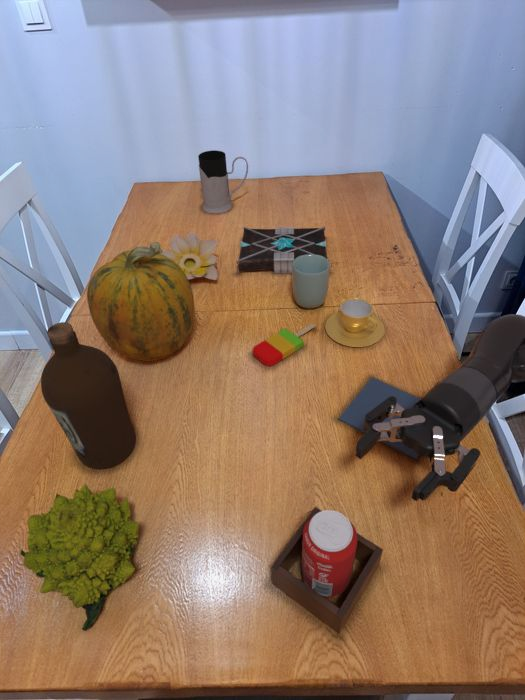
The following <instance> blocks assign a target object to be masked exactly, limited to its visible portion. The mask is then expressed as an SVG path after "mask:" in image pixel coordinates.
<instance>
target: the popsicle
mask: <svg viewBox="0 0 525 700" xmlns="http://www.w3.org/2000/svg"><path fill="white" fill-rule="evenodd" d="M316 327H317V325H316V324H315V323H311V324H309V325H308V326H306V327H304V328H303V329H300V330H299V331H298V332H295V333H294V332H292V331H290V330H289V329H288V328H283V329H281V330H279V331H278V332H276V333H274V334H273V335H271V336H269V337H267V338H266V339H264V340H262V341H261V342H259V343H258V344H255V345H254V346H253V348H252V355H253V357H254V358H255V359H256V360H258V361H260V363H262V364H263V365H265V366H266V367H272V366H275V365H277V364H278V363H279V362H281V361H283V360H284V359H285V358H287V357H289V356H291V355H292V354H293V353H295V352H297V351H298V350H300V349H302V348H303V347H304V339H302V338H301V337H302V336H303V335H305V334H307V333H308V332H309V331H311V330H313V329H314V328H316Z"/></svg>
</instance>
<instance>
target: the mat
mask: <svg viewBox="0 0 525 700" xmlns="http://www.w3.org/2000/svg"><path fill="white" fill-rule="evenodd" d="M390 396H394V397H396V399H397V402H396V403H397V404H398V405H400V406H401V407H403V408H404V409H407V408H411V407H413V406H414V405H415V404H416V403H417V402H418V401H419V400H420V399H421V398H419V397H418V396H415V395H413V394H411V393H408V392H406V391H404V390H401V389H399V388H398V387H395V386H393V385H391V384H388V383H386V382H384V381H382V380H381V379H378V378H375V377H373V376H371V377H370V379H369V380H368V381H367V383H366V384H365V385H364V386H363V388H361V390H360V391H359V392H358V394H357V395H355V397H354V398H353V400H352V401H351V402H350V403H349V404H348V406H347V407H346V408H345V409H344V411H343V412H342V413H341V414H340V416H339V417H338V421H339V422H342V423H344V424H346V425H348V426H350V427H351V428H354V429H355V430H358V431H360V432H361V433H363V434H364V435H365V434H366V433H367V431H365V430H364V429H363V426H364V421H365V415H366V414H367V413H368V412H370V411H371V410H372V409H374V408H375V407H376V406H378V405H379V404H380V403H382V402H383V401H384V400H386V399H387V398H388V397H390ZM400 418H401V417H399V416H394V417H392V418H391V419H390V418H387V419H385V420H384V421H383V422H381V423H384V422H389V421H390V420H392V419H400ZM397 432H400V428H399V429H398V430H397ZM380 442H381V443H383V444H384V445H387V446H388V447H390V448H392V449H394V450H396V451H398V452H400V453H401V454H404V455H406V456H408V457H410V458H411V459H414V460H418V458H419V456H420V455H418V454H417V453H416V452H415V451H414V450H413V449H411V448H409V447H407V446H405V445H404V444H403V441H399V442H390V441H388V440H387V441H380Z"/></svg>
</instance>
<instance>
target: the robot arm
mask: <svg viewBox="0 0 525 700" xmlns="http://www.w3.org/2000/svg"><path fill="white" fill-rule="evenodd" d="M511 383H525V315H522V314H517V313H509V314H504V315H501V316H499V317H497V318H495V319H494V320H493V319H492V321H490V322H489V323H488V324H487V325H486V326H485V327H484V328H483V330H482V331H481V333H480V334H479V336H478V338H477V339H476V341H475V343H474V345H473V347H472V349H471V351H470V352H469V355H468V358H466V359H465V360H464V361H463V362H461V364H460V365H459V366H458V367H456V368H455V369H454V370H453V371H451V372H450V373H448V374H446V375H445V376H444V377H443V378H442V379H441V380H439V381H437V382H436V383H435V384H434V386H433V387H432V388H430V390H429V391H428V392H426V394H424V395H423V396H422V397H421V398H420V400H419V401H418V402H417V403H416V404H415V405H414V406H413V407H411V408H407V409H404V408H403V407H401V406H400V405H398V404H397V403H396V402H397V399H396V397H394V396H390V397H388V398H387V399H386V400H384V401H383V402H382V403H380V404H379V405H378V406H376V407H375V408H374V409H372V410H371V411H370V412H368V413H367V414H366V415H365V421H364V426H363V429H364V430H365V431H367V433H366V434H365V433H364V435H363V436H362V437H360V438H359V439H358V440H357V441H356V444H355V457H356V458H358V459H359V460H362V459H363V458H364V457H365V456H366V455H367V454H368V453H369V452H370V451H372V449H374V448H375V447H376V446H377V445H378V442H381V441H387V440H388V441H390V442H399V441H403V444H404V445H405V446H407V447H409V448H411V449H413V450H414V451H415V452H416V453H417V454H418V455H419V456H420V457H421V458H424V457H425V458H428V467H429V472H428V474H427V475H426V476H425V477H424V478H423V479H422V480H420V482H419V483H418V484H417V485H416V486H415V487H414V489H413V491H412V493H411V499H412V500H414V501H415V502H418V501H419V500H421V501H426V500H427V499H428V498H429V497H430V496H431V495H432V494H433V493H434V492H435V490H436V489H437V488H438V487H445V488H447V489H448V490H449V492H451V493H455V492H457V491H458V489H459V488H460V487H461V486H462V484H463V483H464V481H465V480H466V479H467V477H468V476H469V475H470V473H471V472H472V471H473V470H474V468H475V467H476V465H477V463H478V460H479V458H480V455H481V451H480V450H479V449H478V448H475V447H472V448H470V449H468V448H467V447H465V446H463V445H461V442H462V441H463V440H464V439H465V438H466V437H467V436H468V435H469V434H470V433H471V432H472V431H473V429H474V428H475V427H476V426H477V425H478V424H479V423H480V422H481V421H482V420H483V419H484V418H485V417H486V415H487V414H488V413H489V412H490V410H491V409H492V407H493V405H495V403H496V402H497V401H498V400H499V399H500V398H502V396H503V395H504V394H505V392H507V390H508V389H509V387H510V386H511ZM394 416H399V417H401V418H400V419H392V420H390V421H389V422H384V423H381V422H383V421H384V420H385V419H387V418H390V419H391V418H392V417H394ZM399 428H400V432H397V430H398V429H399ZM453 455H457V460H456V461H457V463H458V465H457V467H456V468H455V469H454V470H453V472H451V471H447V470H446V461H445V459H446V456H453Z"/></svg>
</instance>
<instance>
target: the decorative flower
mask: <svg viewBox="0 0 525 700" xmlns="http://www.w3.org/2000/svg"><path fill="white" fill-rule="evenodd" d="M218 241H219V240H216V239H214V238H207V239H204V240H200V237H199V234H197V233H196V232H193V231H191V232H188V233H187V235H186V237H184V236H181V235H177V234H176V235H175V234H174V236H172V237H171V239H170V242H169V243H170V244H169V245H170V246H169V247H170V249H166V250H163V252H162V253H160V254H162V255H164V256H166V257H168V258H170V259H171V260H173V261H174V262H175V263H176V264H177V265H178V266H179V267H180V268H181V269H182V270H183V272H184V273H185V275H186V277H187V278H188V280H193V279H196V278H205V279H208V280H214V281H217V279H218V275H219V273H218V270H217V268H216V267H217V266H218V263H217V262H218V257H217V256H216V255H214V254H213V253H214V252H215V250H216V249H217V246H218V244H219V242H218Z"/></svg>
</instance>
